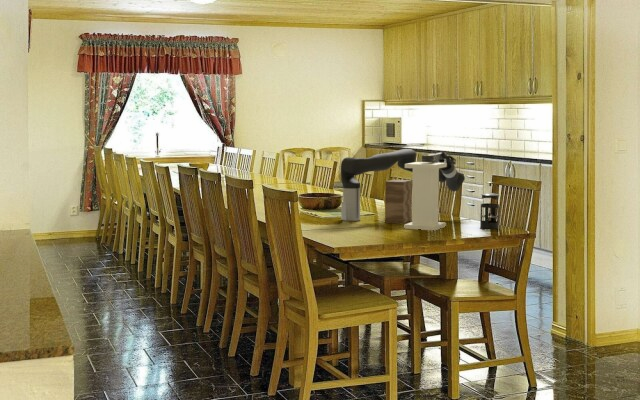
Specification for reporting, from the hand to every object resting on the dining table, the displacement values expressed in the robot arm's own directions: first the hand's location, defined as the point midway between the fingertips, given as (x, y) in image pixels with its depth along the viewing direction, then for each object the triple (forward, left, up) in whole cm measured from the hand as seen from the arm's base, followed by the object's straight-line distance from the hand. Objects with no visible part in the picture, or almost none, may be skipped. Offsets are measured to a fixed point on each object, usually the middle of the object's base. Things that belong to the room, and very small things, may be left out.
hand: (438, 153), depth 428 cm
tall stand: (-14, -11, -36) cm, 40 cm away
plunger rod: (-5, -4, -3) cm, 7 cm away
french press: (+14, -26, -36) cm, 47 cm away
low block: (-16, +14, -36) cm, 42 cm away
